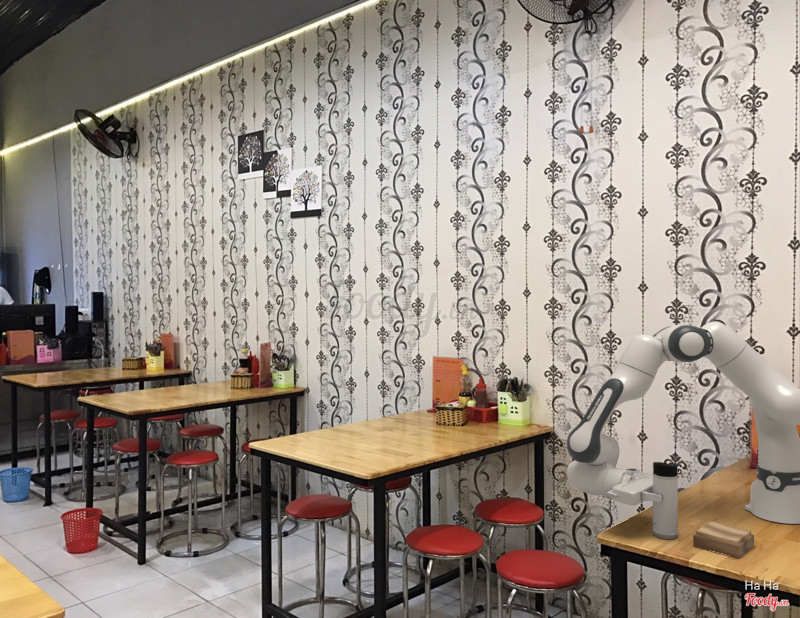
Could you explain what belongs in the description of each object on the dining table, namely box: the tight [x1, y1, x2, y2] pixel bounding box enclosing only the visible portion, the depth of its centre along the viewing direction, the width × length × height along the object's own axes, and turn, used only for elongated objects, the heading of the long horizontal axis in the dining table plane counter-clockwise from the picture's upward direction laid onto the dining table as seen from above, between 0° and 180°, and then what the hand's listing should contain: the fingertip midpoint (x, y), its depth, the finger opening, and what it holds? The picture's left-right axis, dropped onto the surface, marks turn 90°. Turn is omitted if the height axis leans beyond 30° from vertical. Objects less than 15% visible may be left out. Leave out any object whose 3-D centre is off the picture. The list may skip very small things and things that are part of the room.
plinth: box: [692, 521, 755, 560], centre depth 168 cm, size 11×11×4 cm
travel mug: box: [652, 461, 679, 540], centre depth 176 cm, size 6×7×20 cm
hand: (668, 495), depth 175 cm, fingers closed on travel mug, 6 cm apart
